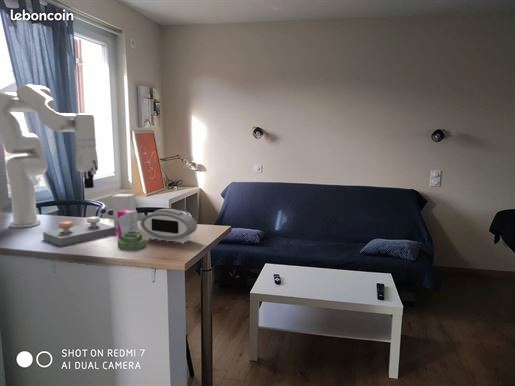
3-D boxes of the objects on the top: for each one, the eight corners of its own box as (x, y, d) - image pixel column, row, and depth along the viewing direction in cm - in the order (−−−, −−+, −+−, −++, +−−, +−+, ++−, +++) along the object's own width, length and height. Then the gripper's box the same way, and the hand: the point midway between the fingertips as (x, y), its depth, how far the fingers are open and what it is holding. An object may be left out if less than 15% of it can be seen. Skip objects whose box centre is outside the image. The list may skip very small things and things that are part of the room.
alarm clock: (140, 238, 171) (139, 208, 169) (149, 235, 177) (149, 205, 175) (189, 245, 163) (189, 213, 161) (197, 241, 168) (197, 210, 166)
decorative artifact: (129, 241, 167) (112, 248, 157) (128, 224, 165) (111, 230, 156) (150, 244, 163) (134, 251, 154) (149, 227, 162) (133, 233, 153)
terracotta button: (56, 234, 167) (56, 222, 166) (69, 231, 171) (68, 220, 170) (63, 236, 164) (62, 224, 163) (75, 233, 168) (75, 222, 167)
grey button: (84, 228, 176) (84, 218, 175) (96, 226, 180) (95, 216, 179) (91, 230, 173) (90, 219, 172) (102, 228, 177) (102, 217, 176)
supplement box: (138, 236, 174) (137, 210, 172) (129, 240, 168) (128, 212, 166) (126, 235, 176) (125, 208, 174) (117, 238, 170) (116, 211, 168)
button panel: (43, 239, 167) (43, 232, 167) (98, 228, 186) (97, 222, 185) (60, 246, 159) (60, 238, 158) (115, 233, 177) (115, 227, 177)
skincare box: (137, 227, 189) (136, 194, 187) (130, 231, 183) (129, 196, 180) (120, 226, 191) (118, 193, 188) (112, 229, 184) (111, 195, 182)
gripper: (68, 144, 173) (71, 187, 175) (86, 144, 163) (90, 190, 166) (85, 143, 178) (88, 185, 181) (104, 144, 169) (107, 188, 172)
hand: (89, 187), depth 174 cm, fingers closed
